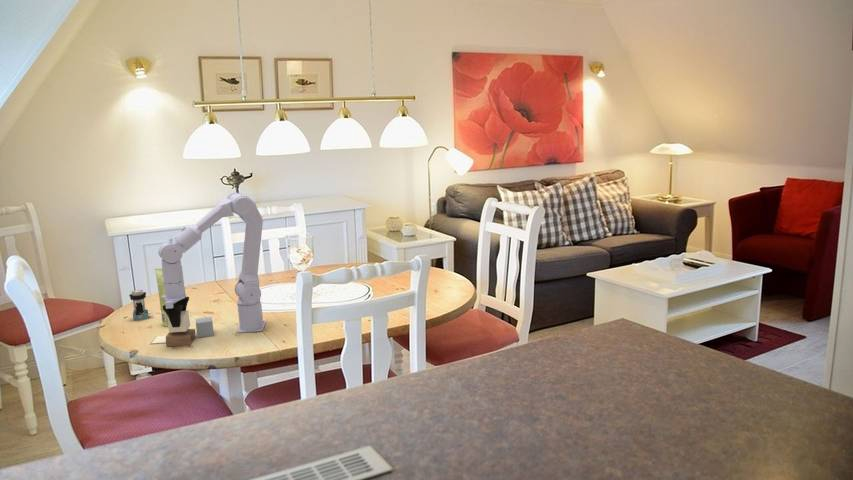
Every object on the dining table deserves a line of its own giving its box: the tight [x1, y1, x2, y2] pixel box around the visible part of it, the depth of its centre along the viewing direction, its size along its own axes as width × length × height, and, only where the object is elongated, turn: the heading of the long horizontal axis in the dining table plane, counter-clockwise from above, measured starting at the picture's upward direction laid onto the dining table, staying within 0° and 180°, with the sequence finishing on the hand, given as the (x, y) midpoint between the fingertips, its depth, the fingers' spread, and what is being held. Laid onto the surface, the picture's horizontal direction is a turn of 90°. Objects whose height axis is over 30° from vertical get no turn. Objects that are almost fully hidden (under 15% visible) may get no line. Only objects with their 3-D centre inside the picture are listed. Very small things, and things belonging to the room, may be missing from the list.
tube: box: [154, 267, 169, 328], centre depth 222 cm, size 6×5×20 cm
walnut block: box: [165, 328, 196, 347], centre depth 206 cm, size 7×7×3 cm
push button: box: [128, 289, 154, 321], centre depth 230 cm, size 7×5×10 cm
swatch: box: [149, 335, 167, 346], centre depth 209 cm, size 7×7×1 cm
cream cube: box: [167, 310, 191, 333], centre depth 205 cm, size 5×5×5 cm
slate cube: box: [195, 316, 215, 339], centre depth 212 cm, size 5×5×5 cm
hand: (178, 323), depth 205 cm, fingers closed on cream cube, 5 cm apart
